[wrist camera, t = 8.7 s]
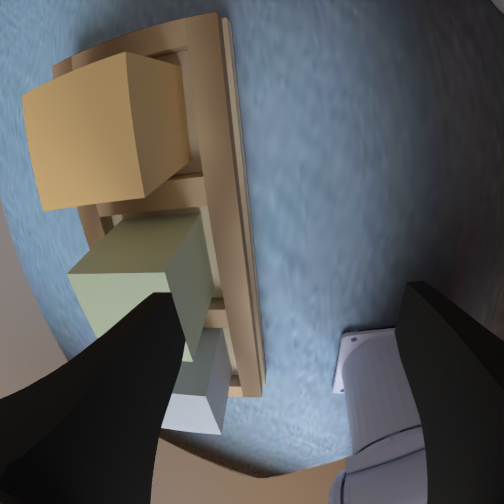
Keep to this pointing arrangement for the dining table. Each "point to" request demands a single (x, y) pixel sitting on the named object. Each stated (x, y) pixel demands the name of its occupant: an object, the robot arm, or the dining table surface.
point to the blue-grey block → (202, 387)
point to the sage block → (147, 273)
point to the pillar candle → (499, 4)
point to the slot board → (200, 179)
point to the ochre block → (107, 131)
